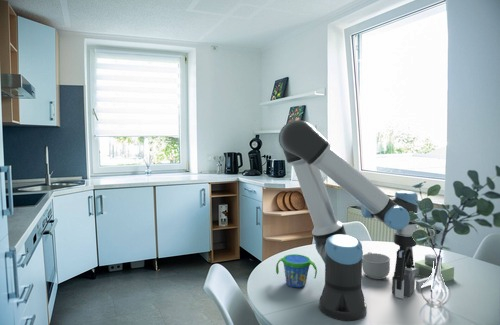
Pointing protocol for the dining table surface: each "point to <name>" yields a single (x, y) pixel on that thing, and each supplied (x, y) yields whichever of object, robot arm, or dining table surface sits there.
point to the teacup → (376, 265)
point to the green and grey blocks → (425, 270)
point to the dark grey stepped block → (406, 283)
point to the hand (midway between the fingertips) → (403, 290)
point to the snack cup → (296, 269)
